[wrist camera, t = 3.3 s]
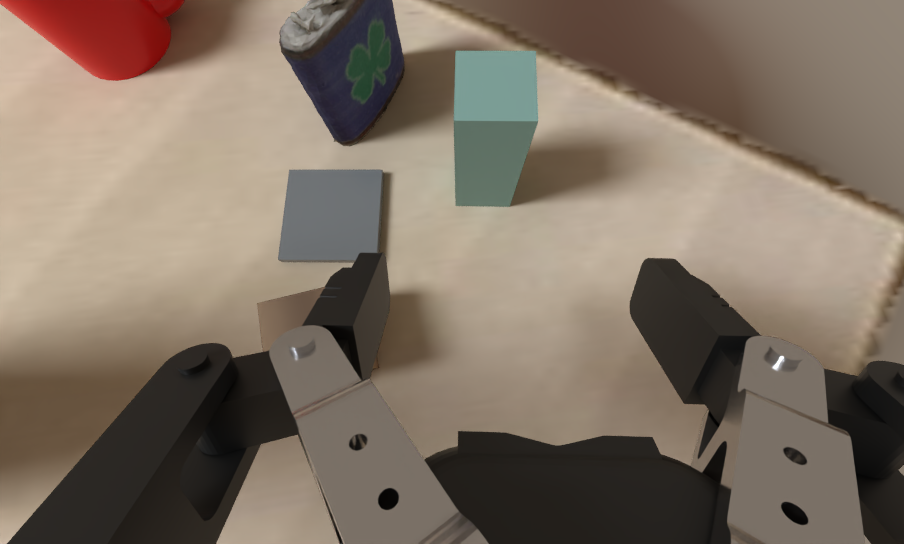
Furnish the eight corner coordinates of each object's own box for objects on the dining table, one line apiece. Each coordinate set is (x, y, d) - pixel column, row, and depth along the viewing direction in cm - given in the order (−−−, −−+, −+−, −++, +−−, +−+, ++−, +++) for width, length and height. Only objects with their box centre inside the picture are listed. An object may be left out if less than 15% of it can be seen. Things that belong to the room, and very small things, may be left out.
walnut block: (306, 386, 24) (268, 393, 20) (295, 313, 26) (257, 303, 21) (379, 367, 25) (359, 369, 20) (365, 296, 26) (343, 282, 21)
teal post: (455, 205, 27) (453, 120, 17) (456, 157, 28) (455, 50, 18) (509, 206, 27) (538, 121, 17) (508, 157, 28) (535, 51, 18)
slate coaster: (285, 264, 27) (278, 259, 26) (296, 177, 29) (289, 169, 27) (380, 264, 27) (376, 260, 26) (385, 177, 28) (382, 169, 27)
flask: (385, 51, 30) (347, -108, 20) (416, 65, 30) (393, -90, 20) (325, 138, 29) (248, 13, 18) (356, 154, 28) (297, 35, 18)
